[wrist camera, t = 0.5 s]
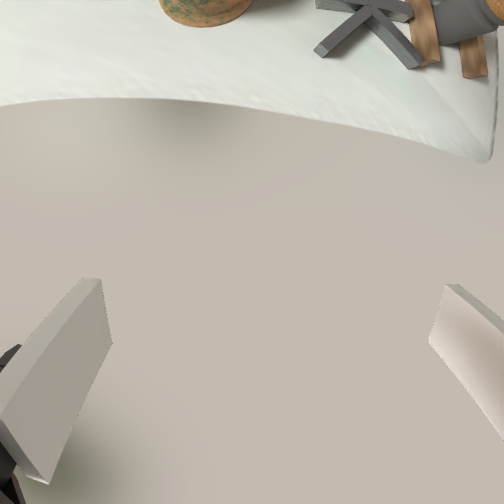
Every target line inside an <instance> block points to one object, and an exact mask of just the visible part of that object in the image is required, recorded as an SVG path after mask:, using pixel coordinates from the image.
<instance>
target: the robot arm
mask: <svg viewBox="0 0 504 504" xmlns="http://www.w3.org/2000/svg"><path fill="white" fill-rule="evenodd" d="M428 342H429V344H430V345H431V346H432V347H433V348H434V350H435V351H436V352H437V353H438V354H439V356H440V357H441V358H442V359H443V361H444V362H445V363H446V364H447V366H448V367H449V368H450V369H451V371H452V372H453V373H454V374H455V376H456V377H457V378H458V379H459V381H460V382H461V383H462V385H463V386H464V387H465V388H466V390H467V391H468V392H469V394H470V395H471V396H472V398H473V399H474V400H475V401H476V403H477V404H478V406H479V407H480V408H481V410H482V411H483V412H484V414H485V415H486V416H487V418H488V419H489V421H490V422H491V423H492V425H493V426H494V428H495V429H496V430H497V432H498V433H499V435H500V436H501V438H502V439H503V440H504V321H503V320H502V319H501V318H500V317H499V316H498V315H496V314H495V313H494V312H492V311H491V310H490V309H489V308H488V307H487V306H485V305H484V304H483V303H482V302H480V301H479V300H478V299H477V298H476V297H474V296H473V295H472V294H471V293H469V292H468V291H467V290H465V289H464V288H463V287H462V286H460V285H459V284H450V285H445V289H444V293H443V296H442V299H441V303H440V306H439V309H438V312H437V315H436V318H435V321H434V324H433V327H432V330H431V333H430V336H429V339H428ZM111 345H112V339H111V334H110V329H109V324H108V318H107V313H106V307H105V301H104V295H103V289H102V282H101V279H93V278H82V279H81V280H80V281H79V282H78V283H77V284H76V285H75V286H74V287H73V288H72V289H71V291H70V292H69V293H68V294H67V295H66V296H65V297H64V298H63V299H62V300H61V301H60V303H59V304H58V305H57V306H56V307H55V308H54V309H53V310H52V311H51V312H50V313H49V315H48V316H47V317H46V318H45V319H44V320H43V322H42V323H41V324H40V325H39V326H38V327H37V329H36V330H35V331H34V332H33V333H32V334H31V335H30V337H29V338H28V339H27V340H26V341H25V343H24V344H23V345H19V344H17V345H16V346H14V347H13V348H12V349H10V350H8V351H7V352H5V353H4V355H3V356H2V357H1V358H0V504H26V503H25V500H24V497H23V494H22V492H21V489H20V486H19V483H18V480H17V478H16V476H15V475H14V473H13V471H14V468H15V466H16V464H17V465H18V467H19V468H20V469H21V470H22V472H23V473H24V474H25V475H26V476H28V477H30V478H33V479H35V480H38V481H40V482H43V483H46V484H50V481H51V478H52V476H53V473H54V470H55V468H56V465H57V463H58V460H59V458H60V455H61V453H62V451H63V448H64V446H65V443H66V441H67V439H68V436H69V434H70V432H71V429H72V427H73V425H74V422H75V420H76V418H77V416H78V413H79V411H80V409H81V407H82V404H83V403H84V401H85V398H86V396H87V394H88V392H89V390H90V388H91V385H92V384H93V381H94V379H95V377H96V375H97V373H98V371H99V369H100V367H101V365H102V363H103V361H104V359H105V357H106V355H107V353H108V351H109V349H110V347H111Z"/></svg>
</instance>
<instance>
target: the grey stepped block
mask: <svg viewBox="0 0 504 504" xmlns="http://www.w3.org/2000/svg"><path fill="white" fill-rule="evenodd" d="M443 1H445V0H430V2H431V4H432V5H437V4H439V3H441V2H443Z"/></svg>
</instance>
